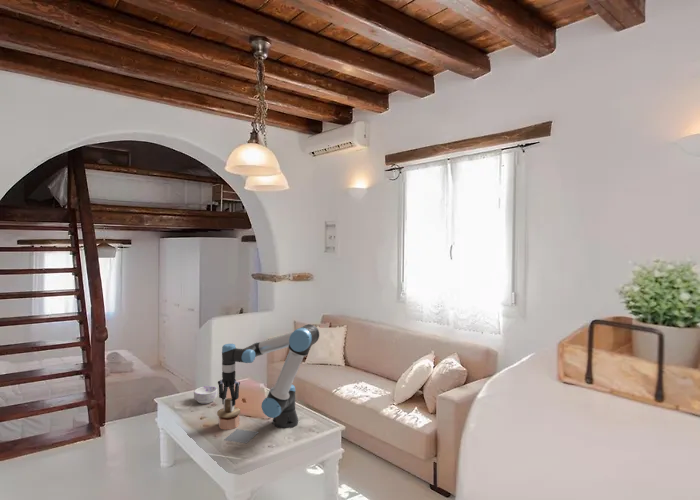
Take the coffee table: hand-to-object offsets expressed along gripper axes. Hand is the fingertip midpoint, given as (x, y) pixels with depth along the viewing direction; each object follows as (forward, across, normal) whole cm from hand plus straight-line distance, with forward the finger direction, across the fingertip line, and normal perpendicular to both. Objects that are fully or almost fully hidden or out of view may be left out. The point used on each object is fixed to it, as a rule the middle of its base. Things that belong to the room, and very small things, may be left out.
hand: (228, 410), depth 251 cm
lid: (+2, 0, 0) cm, 2 cm away
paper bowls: (+10, +36, -30) cm, 48 cm away
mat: (+9, -14, +10) cm, 20 cm away
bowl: (+9, 0, 0) cm, 9 cm away
